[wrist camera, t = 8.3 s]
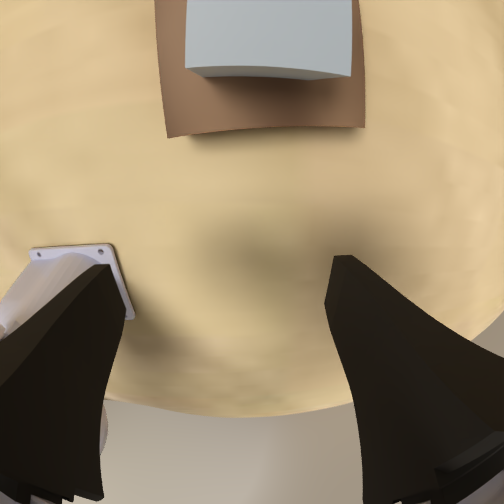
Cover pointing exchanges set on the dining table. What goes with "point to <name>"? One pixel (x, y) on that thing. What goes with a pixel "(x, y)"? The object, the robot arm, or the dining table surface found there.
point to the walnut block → (250, 88)
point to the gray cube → (269, 38)
